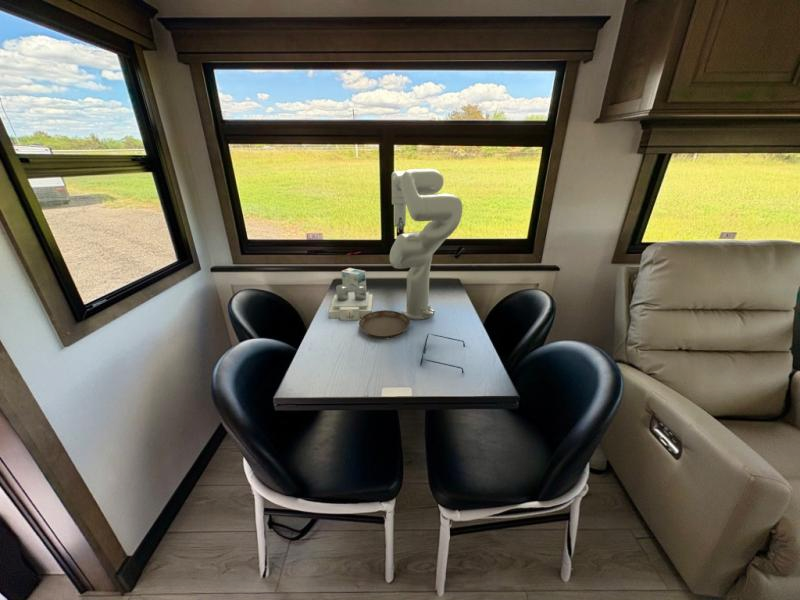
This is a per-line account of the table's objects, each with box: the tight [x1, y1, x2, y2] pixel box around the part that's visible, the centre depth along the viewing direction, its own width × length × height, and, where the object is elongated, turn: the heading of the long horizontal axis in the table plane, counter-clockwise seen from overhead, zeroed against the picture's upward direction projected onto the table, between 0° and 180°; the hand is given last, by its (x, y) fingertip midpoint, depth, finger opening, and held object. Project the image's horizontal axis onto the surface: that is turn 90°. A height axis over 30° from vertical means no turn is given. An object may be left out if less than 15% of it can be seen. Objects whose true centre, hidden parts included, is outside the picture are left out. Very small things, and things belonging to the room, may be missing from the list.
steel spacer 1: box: [335, 283, 349, 301], centre depth 148 cm, size 5×5×6 cm
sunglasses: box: [419, 333, 466, 374], centre depth 115 cm, size 17×15×5 cm
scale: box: [328, 291, 374, 321], centre depth 149 cm, size 18×21×5 cm
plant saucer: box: [358, 309, 411, 340], centre depth 134 cm, size 21×21×3 cm
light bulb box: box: [341, 267, 367, 292], centre depth 169 cm, size 11×7×11 cm, turn 58°
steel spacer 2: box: [354, 284, 367, 301], centre depth 149 cm, size 5×5×6 cm
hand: (400, 238), depth 155 cm, fingers open, 9 cm apart
